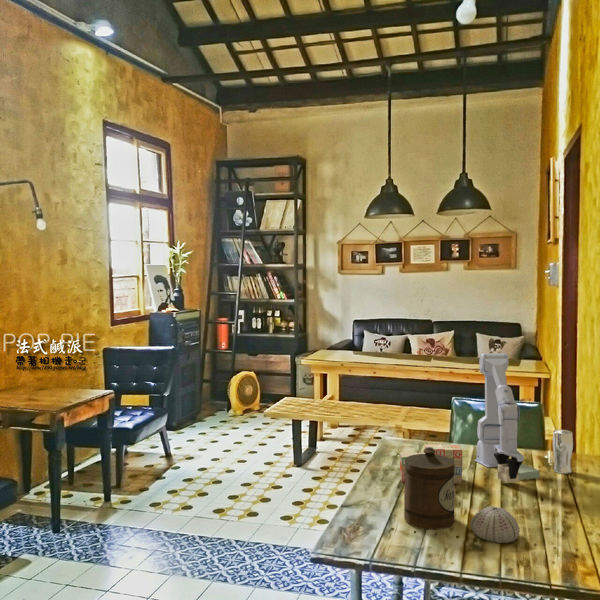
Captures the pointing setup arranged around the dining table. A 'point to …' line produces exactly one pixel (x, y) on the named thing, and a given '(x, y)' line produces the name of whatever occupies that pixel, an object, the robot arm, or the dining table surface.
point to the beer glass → (562, 450)
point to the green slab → (527, 472)
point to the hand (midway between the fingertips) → (508, 475)
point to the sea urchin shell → (495, 525)
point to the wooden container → (429, 490)
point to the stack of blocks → (444, 450)
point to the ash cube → (506, 474)
